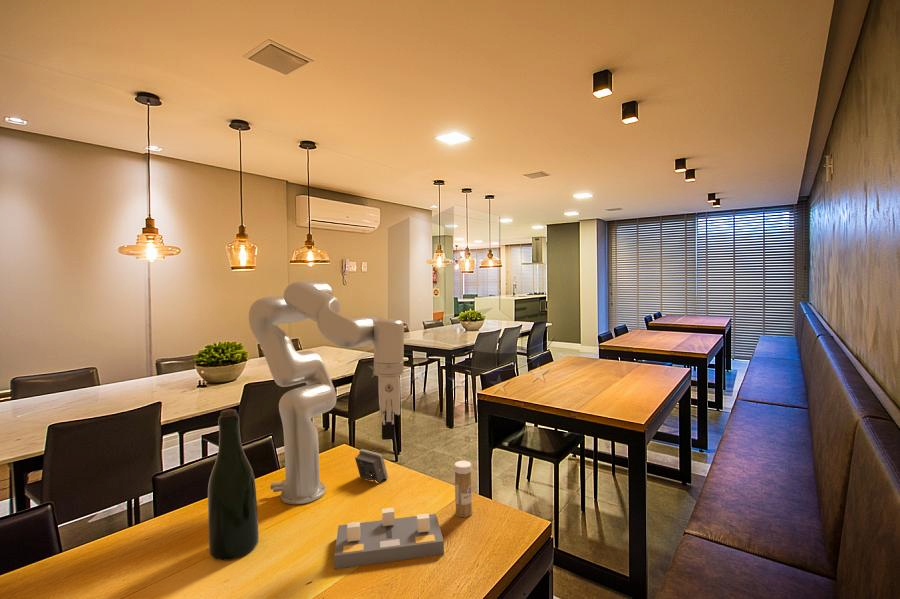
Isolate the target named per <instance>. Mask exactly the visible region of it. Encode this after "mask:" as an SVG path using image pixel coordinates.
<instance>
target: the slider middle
mask: <svg viewBox="0 0 900 599" xmlns="http://www.w3.org/2000/svg"><path fill="white" fill-rule="evenodd" d="M381 512H382V520H383V526H389V525H395V523H394V519H395V509H394V507H388V508H387V507H386V508H382V509H381Z"/></svg>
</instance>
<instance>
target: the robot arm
mask: <svg viewBox="0 0 900 599" xmlns="http://www.w3.org/2000/svg"><path fill="white" fill-rule="evenodd" d="M340 310H341V303H340V300H339V299H338V298H337V297H336V296H334V292H333V288H332V287H331V286H330V285H329V284H328V283H326V282H324V281H321V280H301V281H300V280H299V281H295V282H292V283H290V284H289V285H287V286H286V287H285V289H284V292H283V295H274V296H273V295H272V296H264V297H261V298H257V299H256V300H255V301H253V303H252V304H251V305H250V307H249V311H248V323H249V327H250V328H249V329H250V330H251V333H252V334H253V336H254V338H255V340H256V341H257V342H258V344H259V346H260V348H261V350H262V352H263V356H264V359H265V361H266V363H267V365H268V368H269V372H270V374H271V376H272V379H273V380H274V382H275V384H276V385H277V386H279V387H281V388H285V387H286V388H287V387H291V386H295V385H296V386H297V385H299V384H303V383H305V384H306V385H303V386H300V387H297V388H293V389H290V390H288V391H286V392H285V393H283V395H282V396H281V397H280V399H279V402H278V410H279V416H280V419H281V423H282V424H281V425H282V429H283V430H282V431H283V444H284V445H283V446H284V464H285V466H284V467H285V468H284V470H285V480H282V481H277V482H276V481H274V482H271V483H270V490H272V492H273V493H278V492H281V493H280V500H281V501H282V503H285V504H287V505H304V504H307V503H311V502H314V501H316V500H318V499H320V498H321V497H323V495H325V494H326V490H327V488H326V487H327V486H326V485H325V484H324V483H323V482H321V473H320V471H321V470H320V451H319V450H320V449H319V448H320V447H319V444H320V443H319V433H318V429H317V427H316V426H315V424H314V422H313V420H312V419H313V418H314V417H316V416H320V415H322V414H325V413H327V412H329V411H331V410H333V408H334V407H335V406H336V404H337V393H336V388H335V386H334V384H333V381H332V379H331V377H330V374H329V372H328V371H329V370H328V369H327V367H326V364H325V362H324V360H323V358H322V356H320V355H319V354H318V353H317V352H315V351H312V350H303V351H297V350H296V349H295V347H294V345H293V342H292V339H291V337H290V336H289V335H288V334H287V333H286V331H284V330H283V329H282V328H280V327H279V325H282V324H284V325H285V324H290V323H291V324H292V323H299V322H303V321H306V320H308V319H310V320H312V321H314V322H316V326H317V328H318V330H319V332H320V334H321V335H322V336H323V337H324V338H325V339H327V340H328V341H329V342H332V343H333V344H335V345H337V346H339V347H342V348H344V349H356V348H361V347H364V346H365V347H366V346H372V345H373V375H374V376H377V377H378V404H379V410H380V411H379V412H380V413H379V414H380V415H381V416H382V422H381V439H382V440H383V441H385V440H395V438H396V437H395V434H396V432H395V430H396V429H395V427H396V426H395V425H396V424H395V415H397V416H400V414H401V381H400V380H401V379H400V378H401V377H400V376H402V375H403V374H404V364H405V362H404V361H405V360H404V359H405V358H404V355H405V353H404V352H405V351H404V350H405V348H404V347H405V345H404V344H405V324H404V322H403V321H402V320H400V319H395V318H383V317H379V316H374V315H370V316H369V315H368V316H358V317H351V318H348V317H346V316H343V315H342V314H339V313H340Z"/></svg>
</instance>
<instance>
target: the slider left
mask: <svg viewBox="0 0 900 599" xmlns="http://www.w3.org/2000/svg"><path fill="white" fill-rule="evenodd" d="M360 523H361V522H360V521H356V522H348V523H347V541H348V542H350V541H358V540H360Z"/></svg>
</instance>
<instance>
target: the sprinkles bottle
mask: <svg viewBox="0 0 900 599" xmlns="http://www.w3.org/2000/svg"><path fill="white" fill-rule="evenodd" d="M453 470H454V493H455V494H454V497H455V514H456V516H458V517H461V518H468V517H470V516H472V515H473V504H472V503H473V500H472V499H473V496H472V495H473V494H472V463H471V462H470V461H468V460H458V461H456V462H455V463H454V465H453Z"/></svg>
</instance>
